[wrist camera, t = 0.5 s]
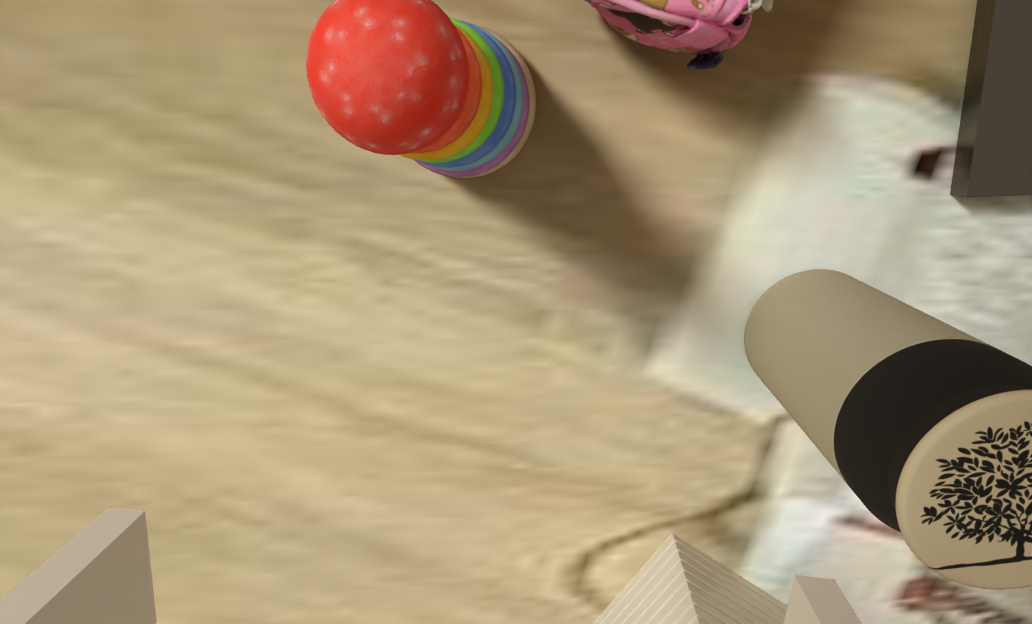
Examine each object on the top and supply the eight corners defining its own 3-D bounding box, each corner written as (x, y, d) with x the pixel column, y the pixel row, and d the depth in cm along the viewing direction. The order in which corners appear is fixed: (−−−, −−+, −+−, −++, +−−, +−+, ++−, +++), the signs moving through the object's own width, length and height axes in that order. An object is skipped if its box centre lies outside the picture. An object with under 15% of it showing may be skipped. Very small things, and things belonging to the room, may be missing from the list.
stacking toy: (556, 56, 35) (559, -22, 17) (510, 195, 37) (469, 255, 19) (419, 6, 35) (275, -125, 17) (381, 150, 37) (217, 168, 19)
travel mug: (746, 270, 38) (908, 388, 20) (885, 265, 37) (1173, 384, 20) (739, 395, 40) (880, 598, 23) (871, 392, 39) (1119, 599, 22)
